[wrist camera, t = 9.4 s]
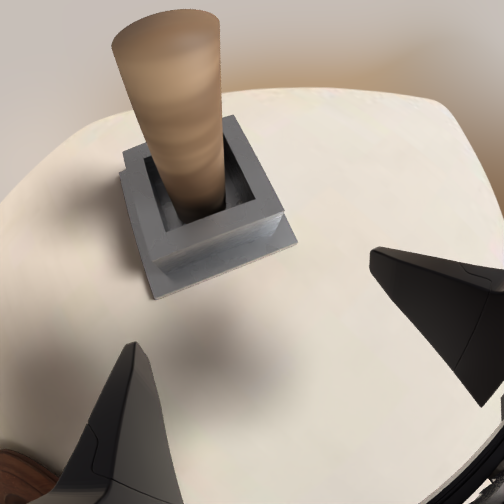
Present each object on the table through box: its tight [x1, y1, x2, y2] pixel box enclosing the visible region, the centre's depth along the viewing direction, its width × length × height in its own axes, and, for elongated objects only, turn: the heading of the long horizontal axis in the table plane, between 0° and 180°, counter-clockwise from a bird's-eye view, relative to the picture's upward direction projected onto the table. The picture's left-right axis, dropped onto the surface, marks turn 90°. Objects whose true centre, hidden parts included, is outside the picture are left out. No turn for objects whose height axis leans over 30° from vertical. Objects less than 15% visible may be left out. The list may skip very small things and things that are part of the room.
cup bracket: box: [119, 115, 298, 300], centre depth 17 cm, size 10×10×4 cm
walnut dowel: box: [111, 9, 226, 224], centre depth 13 cm, size 4×4×13 cm
